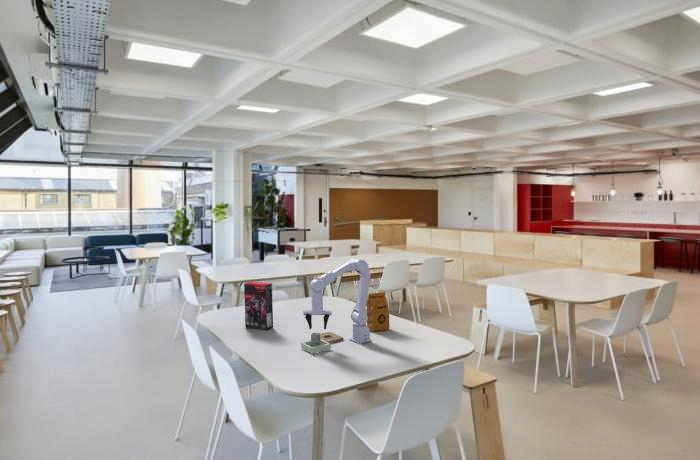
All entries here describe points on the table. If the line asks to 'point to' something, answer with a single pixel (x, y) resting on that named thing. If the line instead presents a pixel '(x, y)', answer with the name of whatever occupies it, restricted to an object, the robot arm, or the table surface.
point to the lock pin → (315, 339)
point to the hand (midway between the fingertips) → (317, 328)
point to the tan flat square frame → (330, 337)
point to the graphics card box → (258, 305)
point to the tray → (322, 347)
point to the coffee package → (377, 312)
